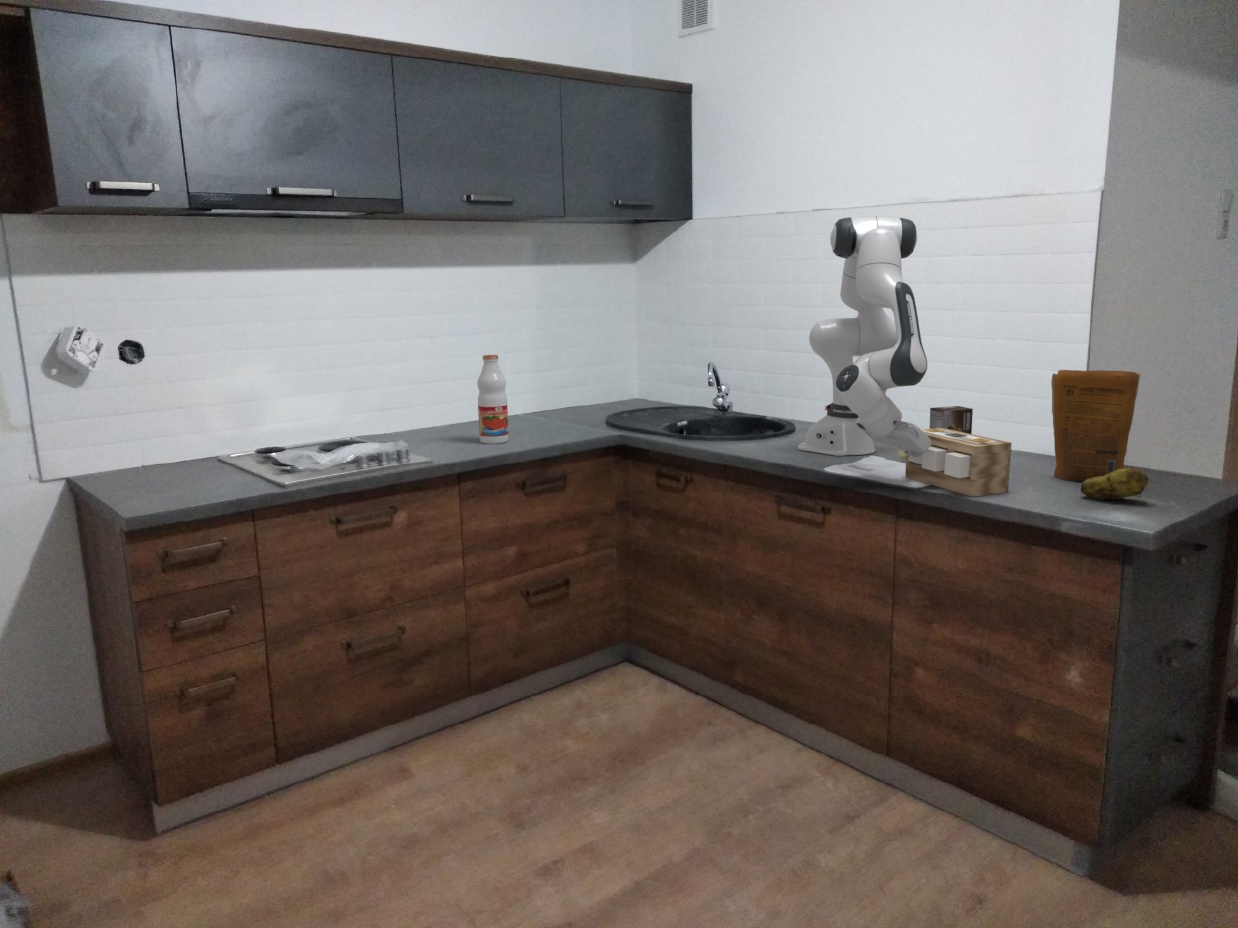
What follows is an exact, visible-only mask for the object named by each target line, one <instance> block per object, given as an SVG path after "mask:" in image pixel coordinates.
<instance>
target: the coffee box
mask: <svg viewBox="0 0 1238 928" xmlns="http://www.w3.org/2000/svg"><path fill="white" fill-rule="evenodd" d="M929 410H930V411H929V429H933V428H945V429H950V430H954V431H959V432H964V433H968V434H973V432H972V431H973V412H974V411H973V410H974V408H971V407H965V406H961V405H956V406H955V405H953V406H941V407H940V406H939V407H930V409H929Z"/></svg>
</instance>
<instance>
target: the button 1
mask: <svg viewBox="0 0 1238 928" xmlns="http://www.w3.org/2000/svg"><path fill="white" fill-rule="evenodd" d="M908 461H910V462H914V463H918V464H921V465H922V453H919V452H918V454H917V455H916V457H913V456H909V457H908Z"/></svg>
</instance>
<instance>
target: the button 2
mask: <svg viewBox="0 0 1238 928" xmlns="http://www.w3.org/2000/svg"><path fill="white" fill-rule="evenodd" d="M971 458H972V454H968V453H964V452H954V453H946V454H945V469H944V474H946V475H950V476H953V477H957V478H964V477H970V474H971Z"/></svg>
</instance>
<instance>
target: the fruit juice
mask: <svg viewBox="0 0 1238 928" xmlns="http://www.w3.org/2000/svg"><path fill="white" fill-rule="evenodd" d="M482 361H483V365H482V368H481V371H480V375H479V376H478V379H477V389H478V391H479V394H478V396H477V409H478V410H477V411H478V431H479V442H480V443H482V444H486V445H487V444H488V445H492V444H493V445H496V444H498V445H499V444H503V443H507V442H508V441H509V439H510V437H509V415H508V414H509V412H508V409H509V408H508V398H507V394H506V386H507V380H506V378H505V377H504V375H503V373H502V370H501V368H500V366H499V363H498V362H499V356H498V354H486V355H485V354H484V355H482Z"/></svg>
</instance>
